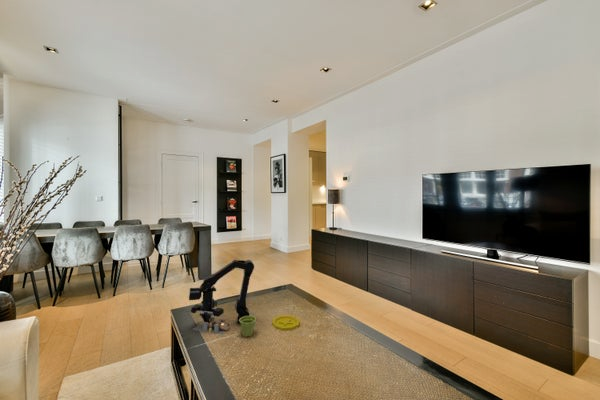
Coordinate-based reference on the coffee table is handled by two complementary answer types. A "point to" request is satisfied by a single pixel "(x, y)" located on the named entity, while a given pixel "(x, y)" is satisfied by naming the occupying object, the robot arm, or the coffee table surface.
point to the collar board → (204, 327)
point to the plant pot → (247, 325)
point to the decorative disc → (285, 322)
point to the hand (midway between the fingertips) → (206, 324)
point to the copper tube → (221, 325)
